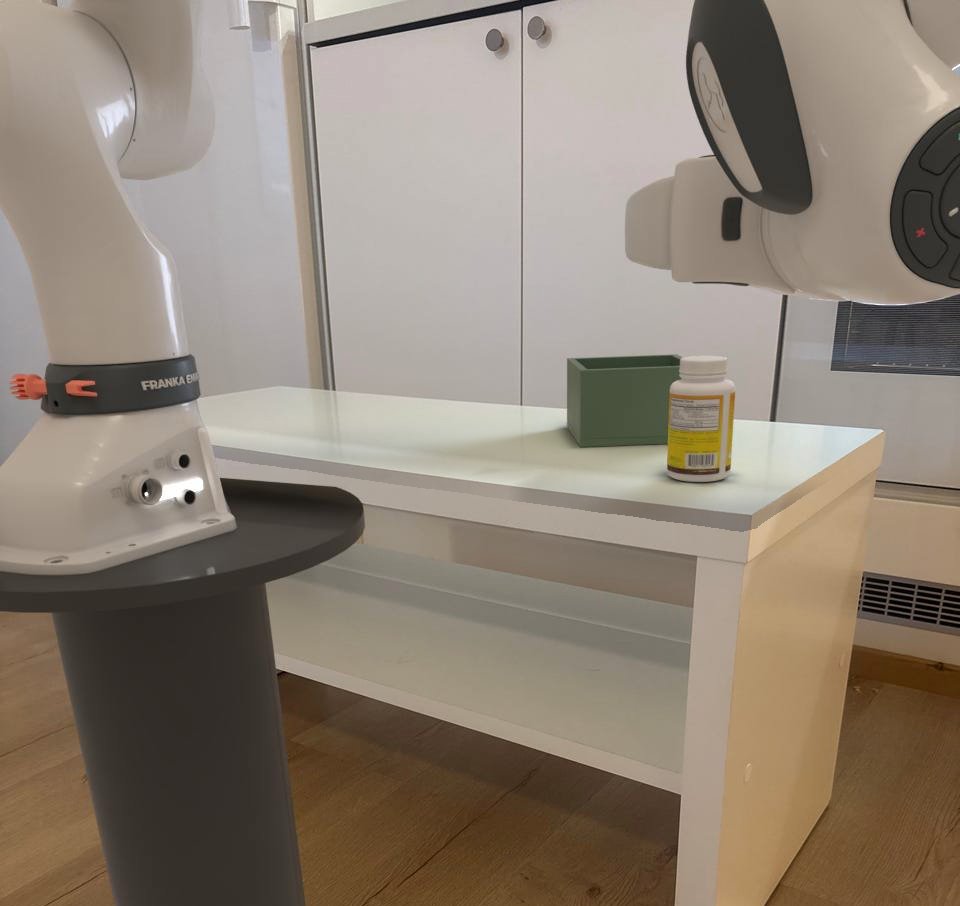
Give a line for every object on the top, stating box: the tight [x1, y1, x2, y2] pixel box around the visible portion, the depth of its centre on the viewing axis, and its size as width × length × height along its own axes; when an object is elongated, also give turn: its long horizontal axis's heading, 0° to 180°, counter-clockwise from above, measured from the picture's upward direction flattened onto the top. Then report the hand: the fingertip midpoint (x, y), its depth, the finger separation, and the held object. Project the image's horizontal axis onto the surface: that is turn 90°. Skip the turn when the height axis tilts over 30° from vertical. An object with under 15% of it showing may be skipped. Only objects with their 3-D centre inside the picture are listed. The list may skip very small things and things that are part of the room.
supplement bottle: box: [666, 355, 736, 483], centre depth 82 cm, size 6×6×10 cm
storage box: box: [566, 353, 684, 448], centre depth 103 cm, size 13×13×8 cm
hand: (754, 226), depth 66 cm, fingers open, 8 cm apart
